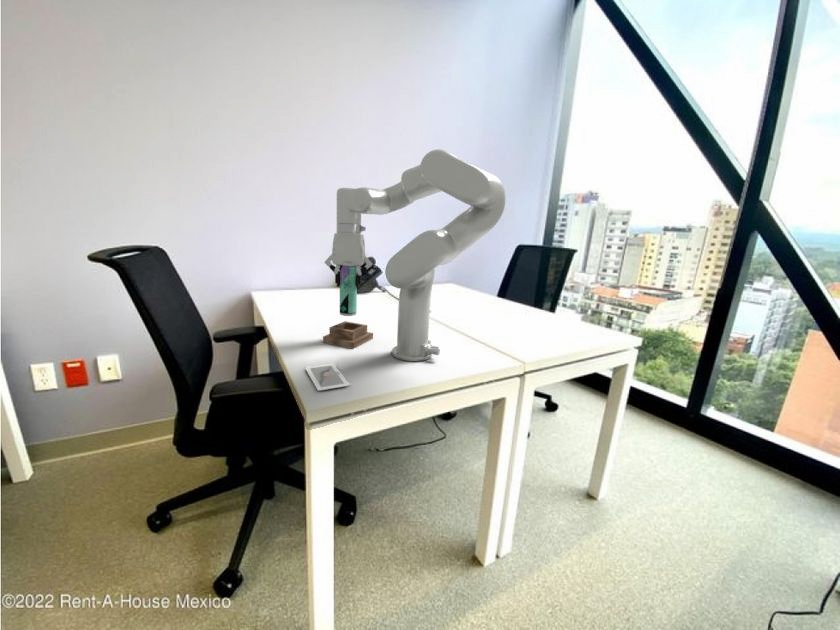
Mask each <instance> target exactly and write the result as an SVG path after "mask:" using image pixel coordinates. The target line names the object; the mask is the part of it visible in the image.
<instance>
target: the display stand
mask: <svg viewBox="0 0 840 630" xmlns="http://www.w3.org/2000/svg"><path fill="white" fill-rule="evenodd" d="M373 339H374V333H373V332H369V331H368V324H362V323H359V322H358V323H357V322H352V321H346V320H344V321H342V322H340V323H337V324H335V325H332V326H329V333H327V334H325V335H323V336H322V342H323V343H325V344H328V345H329V344H330V345H335V346H338V345H339V346H340V347H343V346H344V347H345V348H350V349H354V348H355V349H357V348H358V347H360V346H363V345H364V344H366V343H368V342H369V341H371V340H373Z"/></svg>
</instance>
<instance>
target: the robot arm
mask: <svg viewBox="0 0 840 630" xmlns="http://www.w3.org/2000/svg"><path fill="white" fill-rule="evenodd" d="M441 192H444V193H445V194H446V195H449V196H450V197H453V198H454V199H456V200H457V201H460V202H462V203H464V204H466V205H468V206H470V207H468V208H467V209H466V210H464V211H463V212H462V213H459V215H457V216H456V217H455V218H454V219H453V220H451V221H450V222H449V223H447V224H446V225H445V226H443V227H442V228H439V229H430V230H426V231H423V232H422V233H420V234H418V235H417V236H415V237H414V238H413V239H412V240H410V241H409V242H408V243H407V244H406V245H404V246H403V247H402V248H401V249H400V250H398V251H397V252H396V253H395V254H394V255H393V256H392V257H390V259H388V261H387V263H386V267H385V272H384V273H385V278H386V280H387V282H388V283H389V285H390V286H392V287H394V288H396V289H398V290H400V291H399V296H398V307H397V311H398V313H397V335H396V336H397V338H396V346H394V347H393V348H392V349H391V354H392V357H395V359H398V360H402V361H407V362H421V361H427V360H429V359H430V358H432V356H433V355H435V356H439V355H440V352H441V349H440V348H439V346H436V345H432V341H431V340H430V339H429V328H430V327H429V325H430V311H431V310H430V308H431V297H432V289H433V284H434V278H435V271H436V270H435V269H436V268H437V267H439V266H443V265H447V264H449V263H451V262H453V261H454V260H455V259H456V258H457V257H459V256H460V255H461V254H462V253H463V252H465V251H466V250H467V249H469V248H470V247H472V246H473V245H474V244H475V243H476V242H477V241H479V240H480V239H482V238H483V237H484V236H485V235H486V234H487V233H489V232H490V231H491V230H492V229H493V228H494V227H495V226H496V225H497V224H498V223H499V221H500V220H501V217H502V215H503V213H504V210H505V206H506V191H505V187H504V185H503V183H502V181H501V180H500V179H499V178H498V177H497V176H495V175H494V174H492V173H490V172H488V171H485V170H483V169H481V168H479V167H477V166H475V165H472V164H471V163H468V162H466V161H464V160H462V159H460V158H459V157H457V156H456V155H455V154H454V153H453V154H452V153H451V152H448V151H446V150H443V149H440V148H439V149H433V150H430V151H429V152H426V154H425V155H424V156H423V157H422V159H421V162H420V164H418V165H416V166H413V167H411V168H408V169H406V170H404V171H403V172H402V174H401V179H400V182H397V183H396V184H394V185H391V186H388V187H386V188H383V189H378V188H372V187H371V188H370V187H358V188H356V187H355V188H352V187H340V188H338V189H337V191H336V232H334V235H333V241H332V249H331V252H332V253H331V254H330V255H329V256H328V257H327V259H326V260H325V261H324V264H325V265H326V266H327V267H328V268H329V269H330V270H331V271H332V272H333V273H334V276H335V277H334V280H335V283H334V284H336V287H339V288H340V265H342V264H343V262H346V261H348V262H352V264H353V265H354V266H355V267H356V270H357V275H356V287H357V288H360V285H362V275H363V274H364V273H365V272H366V271H367V270H369V268H371V267H372V266H373V263H372V262H371V260H370V259H369V258H368V257H367V256H366V247H365V246H366V245H365V236H364V234H362V232H366V230H367V229H366V226H363V225H362V214H363V215H377V216H378V215H379V216H380V215H387V214H390V213H392V212H393V213H394V212H396V211H398V210H401V209H403V208H406V207H408V206H409V205H411V204H413V203H414V202H415V201H418V200H421V199H425V198H426V197H428V196H432V195H435V194H437V193H441ZM364 264H365V266H364ZM361 266H363V267H361Z"/></svg>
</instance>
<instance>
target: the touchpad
mask: <svg viewBox="0 0 840 630" xmlns="http://www.w3.org/2000/svg"><path fill="white" fill-rule="evenodd" d="M304 368H305V370H306V372H307V374H308V376H310V379H311V380H312V382H313V385H314V386H315V388H316V389H317V391H325V390H331V389H336V388H343V387H347V386H348V387H349V386H351V385H350V383H349V381H347V379H346V378H345V376H344V375H343V374H342V372H341V371H340V370H339V369H338V367H337V366H336V365H335V363H328V364H327V363H326V364H322V365H320V364H319V365H314V366H313V365H312V366H307V367H304Z"/></svg>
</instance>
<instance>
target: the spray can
mask: <svg viewBox="0 0 840 630" xmlns="http://www.w3.org/2000/svg"><path fill="white" fill-rule="evenodd" d="M356 275H357V270H356V267H355V266H354V265H353V264H352V262H348V261H346V262H343V264H342V265H340V286H339V315H340V316H343V317H353V316H356V315H357V303H358V302H357V292H358V289H357V287H356Z"/></svg>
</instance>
